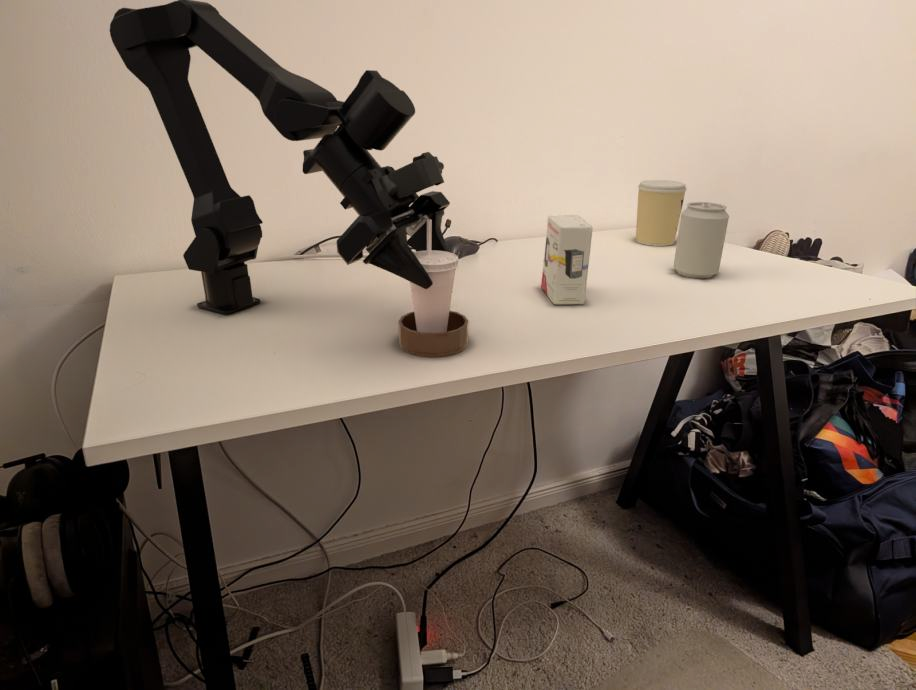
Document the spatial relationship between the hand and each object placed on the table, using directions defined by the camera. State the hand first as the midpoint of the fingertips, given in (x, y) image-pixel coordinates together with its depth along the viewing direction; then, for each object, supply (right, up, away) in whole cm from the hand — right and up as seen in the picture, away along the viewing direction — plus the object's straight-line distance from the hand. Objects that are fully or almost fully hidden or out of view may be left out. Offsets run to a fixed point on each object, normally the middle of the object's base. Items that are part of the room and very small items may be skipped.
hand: (441, 279), depth 73 cm
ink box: (+18, -1, +21) cm, 28 cm away
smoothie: (-1, -6, +3) cm, 7 cm away
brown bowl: (-1, -8, +4) cm, 9 cm away
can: (+43, +4, +33) cm, 55 cm away
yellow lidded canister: (+43, +14, +55) cm, 71 cm away
